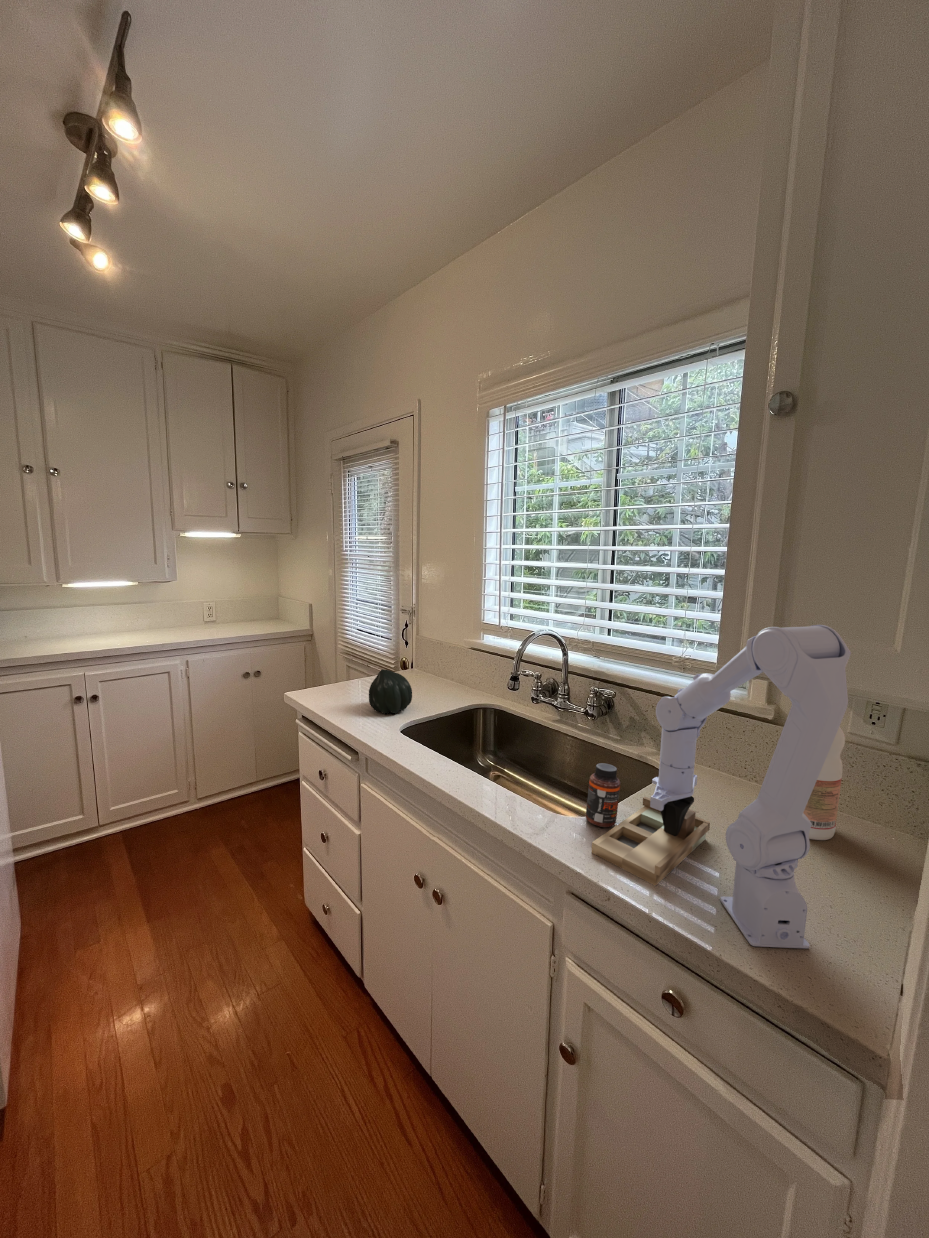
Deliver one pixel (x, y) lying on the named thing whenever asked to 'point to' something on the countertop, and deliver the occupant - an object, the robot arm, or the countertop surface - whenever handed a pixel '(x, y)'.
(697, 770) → the countertop surface
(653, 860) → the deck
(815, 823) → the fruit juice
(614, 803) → the supplement bottle
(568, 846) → the countertop surface
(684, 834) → the walnut block
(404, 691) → the squash
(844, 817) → the countertop surface
